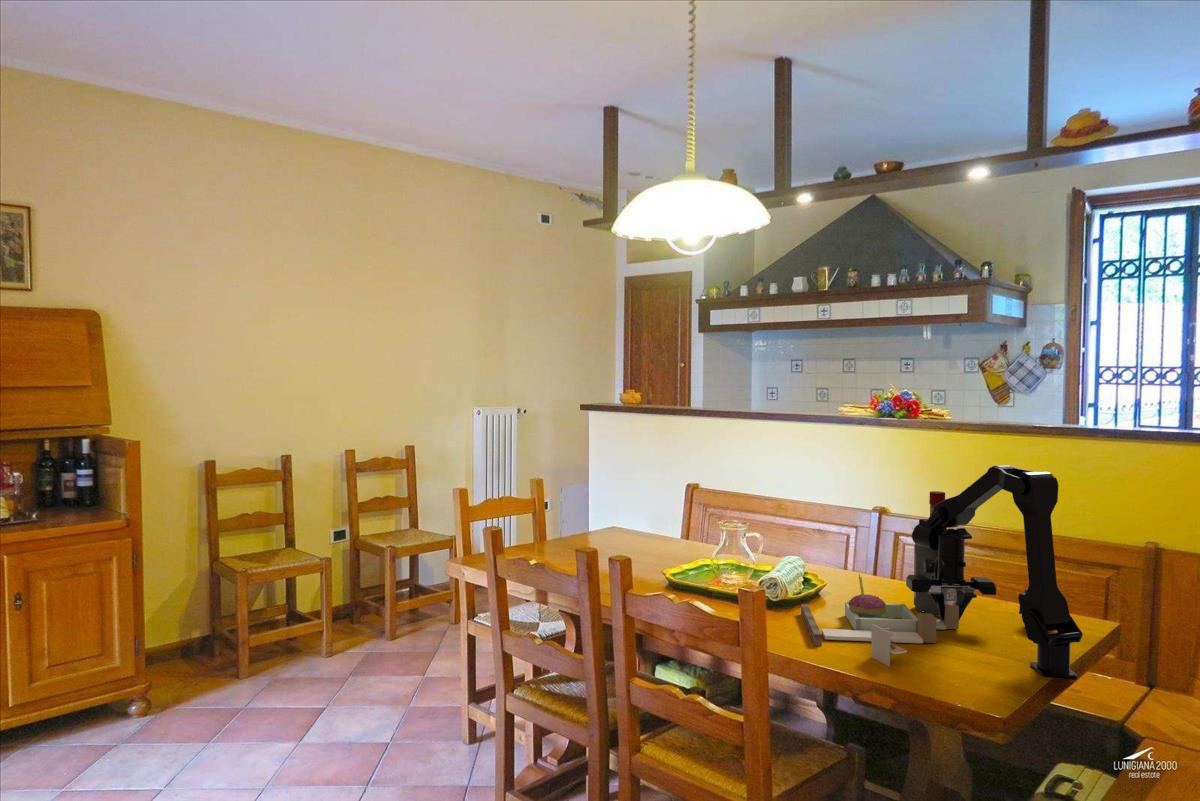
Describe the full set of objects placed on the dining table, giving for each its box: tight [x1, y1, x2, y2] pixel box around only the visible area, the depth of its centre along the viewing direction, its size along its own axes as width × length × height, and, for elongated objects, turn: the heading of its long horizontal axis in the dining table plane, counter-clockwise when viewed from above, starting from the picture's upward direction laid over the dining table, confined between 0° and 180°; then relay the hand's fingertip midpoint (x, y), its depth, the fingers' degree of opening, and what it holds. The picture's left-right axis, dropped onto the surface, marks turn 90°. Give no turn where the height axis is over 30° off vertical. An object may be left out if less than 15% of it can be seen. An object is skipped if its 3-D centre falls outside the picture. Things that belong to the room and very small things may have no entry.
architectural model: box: [870, 624, 908, 667], centre depth 162 cm, size 3×7×7 cm, turn 20°
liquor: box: [913, 490, 958, 616], centre depth 197 cm, size 9×9×30 cm
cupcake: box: [848, 573, 887, 618], centre depth 185 cm, size 9×8×12 cm
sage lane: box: [844, 601, 960, 633], centre depth 184 cm, size 13×24×6 cm, turn 83°
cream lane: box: [821, 612, 937, 644], centre depth 175 cm, size 5×24×6 cm, turn 83°
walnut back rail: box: [800, 603, 823, 647], centre depth 182 cm, size 23×2×2 cm, turn 173°
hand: (949, 620), depth 183 cm, fingers closed on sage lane, 3 cm apart
